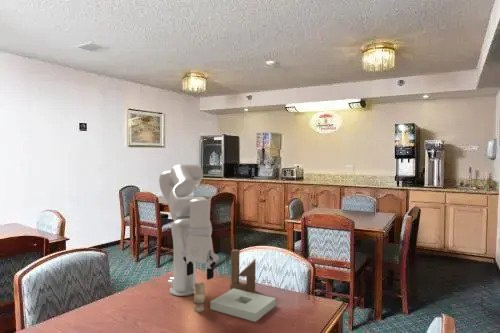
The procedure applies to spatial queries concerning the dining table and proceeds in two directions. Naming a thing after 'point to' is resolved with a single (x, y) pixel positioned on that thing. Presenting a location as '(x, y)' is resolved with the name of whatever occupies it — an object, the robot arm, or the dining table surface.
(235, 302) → the board
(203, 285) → the peg
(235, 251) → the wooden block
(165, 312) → the dining table surface
